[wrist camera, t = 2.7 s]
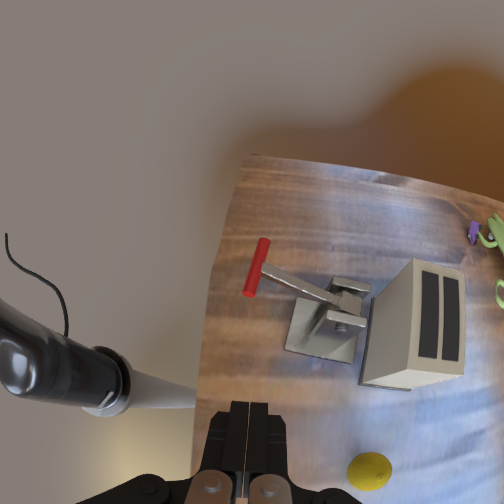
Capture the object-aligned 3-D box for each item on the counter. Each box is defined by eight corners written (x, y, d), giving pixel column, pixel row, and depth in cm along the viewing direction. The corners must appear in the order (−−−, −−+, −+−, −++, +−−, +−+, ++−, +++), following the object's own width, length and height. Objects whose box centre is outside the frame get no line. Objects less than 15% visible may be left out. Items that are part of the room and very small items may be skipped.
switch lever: (237, 295, 27) (247, 288, 25) (254, 243, 30) (264, 233, 28) (343, 337, 30) (357, 334, 28) (350, 289, 33) (364, 283, 31)
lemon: (341, 451, 31) (361, 460, 24) (378, 447, 30) (403, 453, 23) (338, 485, 28) (356, 500, 21) (374, 480, 28) (399, 492, 21)
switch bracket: (283, 350, 38) (295, 326, 27) (296, 299, 42) (311, 257, 31) (350, 364, 37) (388, 345, 26) (359, 313, 41) (393, 277, 30)
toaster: (357, 384, 35) (404, 371, 23) (371, 299, 42) (411, 253, 30) (408, 391, 34) (466, 378, 22) (416, 309, 41) (465, 269, 28)
